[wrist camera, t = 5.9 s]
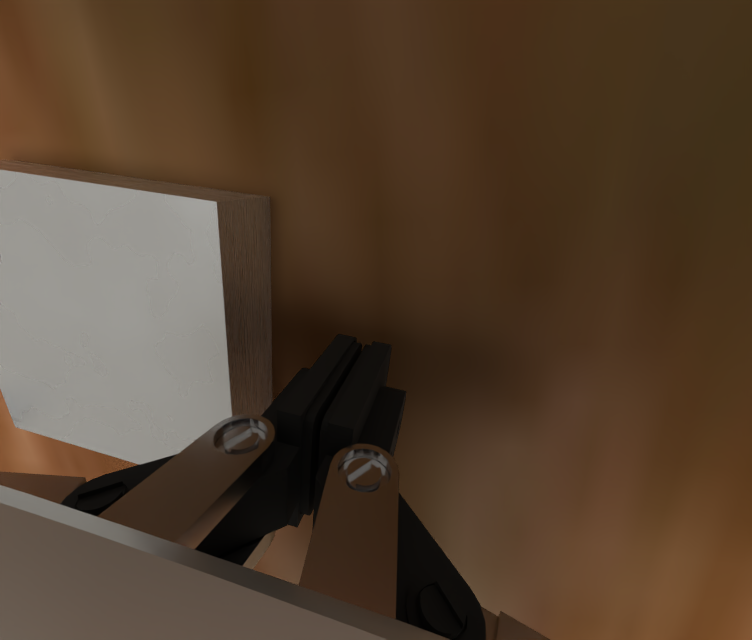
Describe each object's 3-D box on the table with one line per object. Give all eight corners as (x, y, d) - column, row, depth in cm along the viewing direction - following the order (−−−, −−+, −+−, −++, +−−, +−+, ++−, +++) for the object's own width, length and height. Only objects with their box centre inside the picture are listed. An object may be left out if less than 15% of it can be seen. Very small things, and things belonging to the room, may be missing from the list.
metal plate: (276, 196, 11) (216, 201, 8) (278, 437, 15) (237, 494, 12) (26, 160, 13) (-92, 156, 10) (87, 386, 17) (15, 426, 14)
